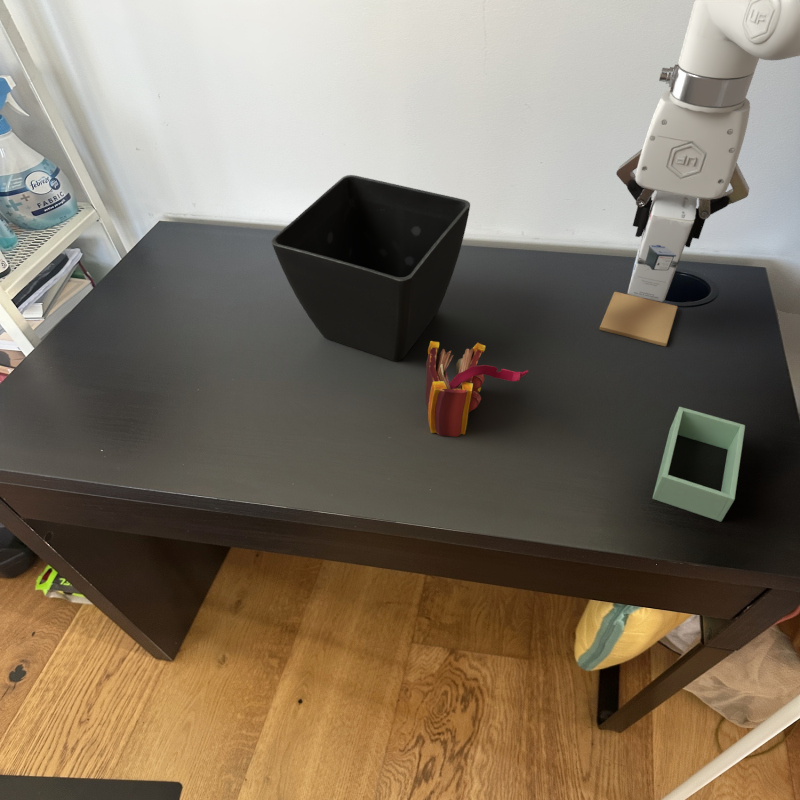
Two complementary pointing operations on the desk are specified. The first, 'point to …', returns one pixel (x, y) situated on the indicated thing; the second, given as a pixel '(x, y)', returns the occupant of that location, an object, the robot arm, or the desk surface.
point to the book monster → (457, 388)
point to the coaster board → (639, 318)
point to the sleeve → (695, 494)
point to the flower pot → (373, 261)
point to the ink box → (662, 245)
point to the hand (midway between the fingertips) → (664, 235)
